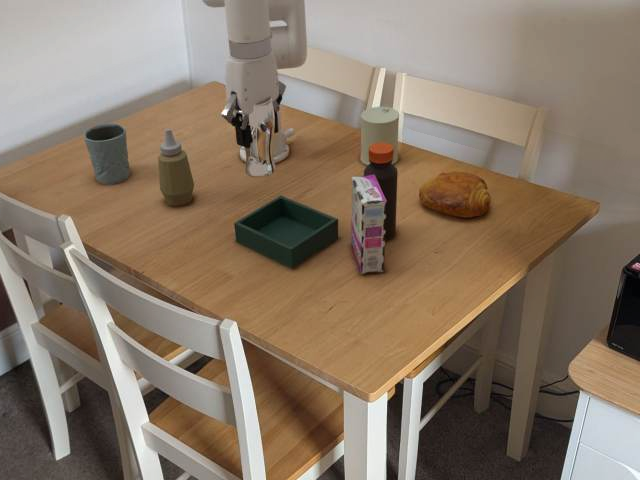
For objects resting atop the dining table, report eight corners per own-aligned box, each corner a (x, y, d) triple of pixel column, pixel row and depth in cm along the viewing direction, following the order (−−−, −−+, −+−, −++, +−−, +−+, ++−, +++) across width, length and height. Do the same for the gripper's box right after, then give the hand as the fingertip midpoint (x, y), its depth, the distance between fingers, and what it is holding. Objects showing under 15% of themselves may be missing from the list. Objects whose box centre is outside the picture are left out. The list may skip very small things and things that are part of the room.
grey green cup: (86, 183, 199) (75, 138, 192) (106, 164, 207) (97, 121, 199) (121, 187, 196) (112, 142, 189) (140, 168, 203) (132, 124, 196)
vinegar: (387, 245, 167) (389, 158, 155) (358, 237, 170) (358, 152, 158) (400, 229, 171) (403, 143, 159) (371, 222, 175) (372, 137, 162)
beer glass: (282, 163, 159) (277, 91, 150) (272, 180, 154) (266, 106, 145) (249, 160, 161) (242, 89, 152) (238, 177, 156) (230, 104, 147)
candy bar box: (385, 272, 159) (387, 200, 149) (361, 275, 159) (361, 203, 149) (374, 242, 168) (375, 172, 158) (350, 245, 168) (350, 175, 158)
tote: (282, 213, 180) (280, 195, 177) (338, 238, 171) (338, 218, 168) (235, 241, 173) (233, 222, 170) (292, 269, 163) (291, 249, 160)
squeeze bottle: (191, 209, 185) (180, 138, 174) (158, 208, 187) (145, 137, 175) (200, 192, 191) (190, 121, 180) (167, 191, 193) (155, 121, 182)
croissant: (468, 236, 171) (475, 205, 165) (407, 206, 178) (412, 176, 173) (502, 205, 179) (510, 176, 173) (442, 178, 186) (448, 149, 180)
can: (404, 154, 198) (406, 108, 191) (388, 170, 192) (389, 123, 185) (370, 147, 202) (370, 102, 195) (353, 163, 196) (353, 117, 189)
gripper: (268, 28, 149) (274, 117, 160) (200, 57, 140) (211, 150, 151) (298, 35, 145) (302, 126, 156) (230, 66, 136) (239, 161, 147)
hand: (257, 137), depth 153 cm, fingers closed on beer glass, 7 cm apart
